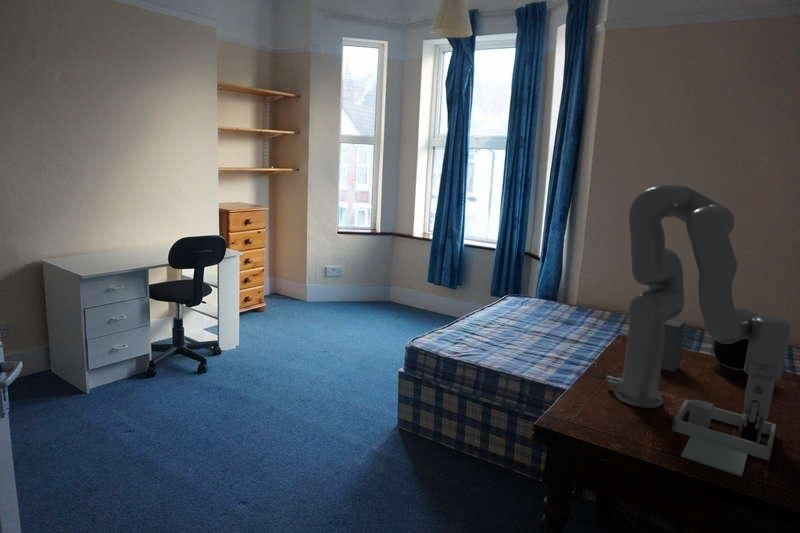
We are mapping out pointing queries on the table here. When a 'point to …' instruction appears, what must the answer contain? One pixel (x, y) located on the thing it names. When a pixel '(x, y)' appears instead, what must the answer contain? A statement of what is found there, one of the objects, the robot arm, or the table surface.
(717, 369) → the dark rounded object
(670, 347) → the skincare box
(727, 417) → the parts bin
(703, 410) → the plain block
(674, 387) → the table surface
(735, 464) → the mat
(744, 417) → the labelled block
